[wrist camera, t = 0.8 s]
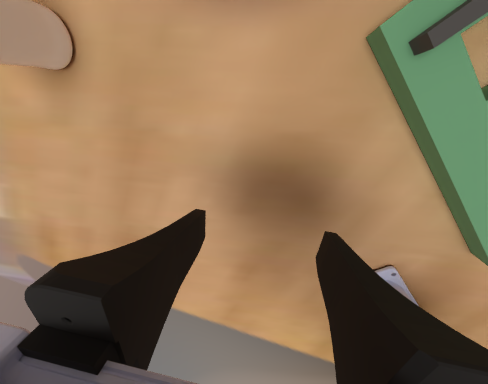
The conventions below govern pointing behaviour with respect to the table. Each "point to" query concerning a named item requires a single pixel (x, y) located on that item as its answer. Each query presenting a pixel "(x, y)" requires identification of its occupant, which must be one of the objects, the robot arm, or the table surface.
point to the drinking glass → (33, 36)
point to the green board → (442, 102)
